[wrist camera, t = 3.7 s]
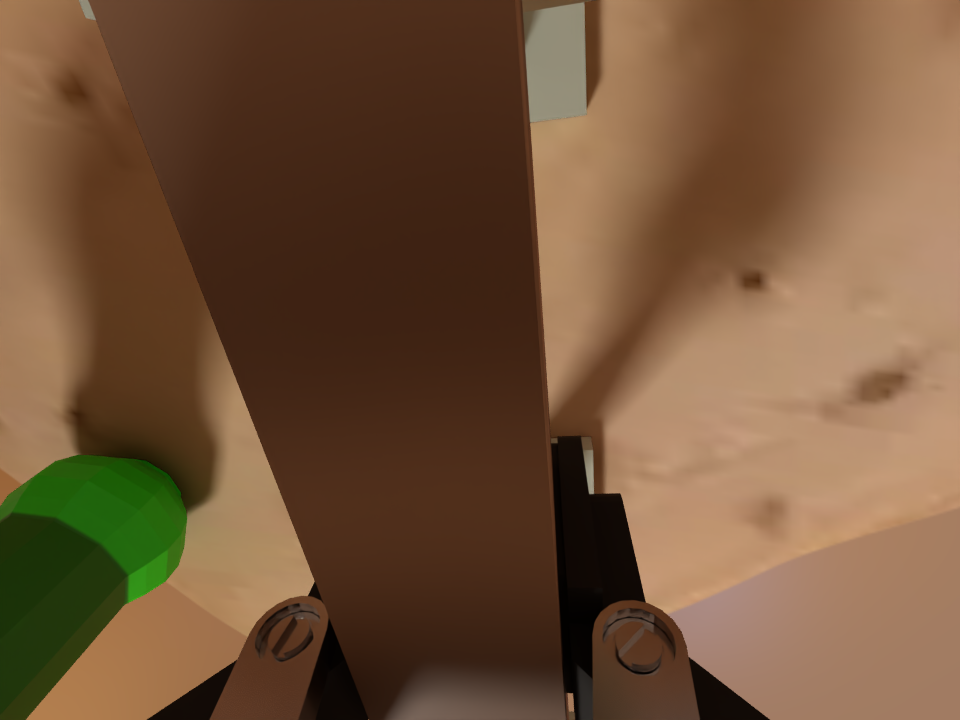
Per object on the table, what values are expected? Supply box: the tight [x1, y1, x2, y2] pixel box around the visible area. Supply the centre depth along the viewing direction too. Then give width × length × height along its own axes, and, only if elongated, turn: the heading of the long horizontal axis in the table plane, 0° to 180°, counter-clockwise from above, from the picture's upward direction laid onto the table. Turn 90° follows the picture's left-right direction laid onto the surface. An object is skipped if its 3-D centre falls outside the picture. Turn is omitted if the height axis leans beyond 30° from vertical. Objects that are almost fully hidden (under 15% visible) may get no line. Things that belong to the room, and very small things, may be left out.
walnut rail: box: [88, 0, 569, 720], centre depth 9 cm, size 28×3×4 cm, turn 7°
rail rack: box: [79, 0, 594, 720], centre depth 16 cm, size 28×7×17 cm, turn 7°
